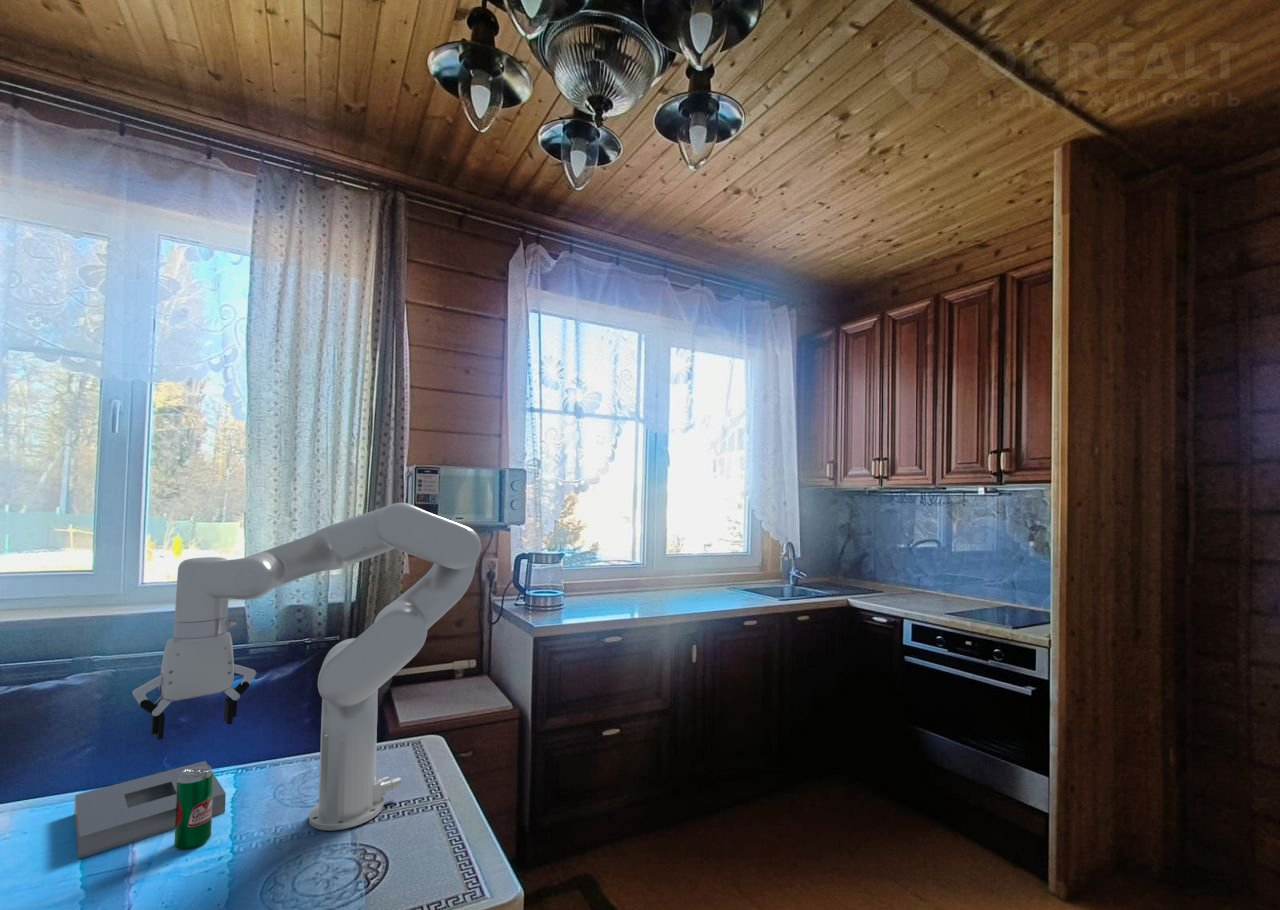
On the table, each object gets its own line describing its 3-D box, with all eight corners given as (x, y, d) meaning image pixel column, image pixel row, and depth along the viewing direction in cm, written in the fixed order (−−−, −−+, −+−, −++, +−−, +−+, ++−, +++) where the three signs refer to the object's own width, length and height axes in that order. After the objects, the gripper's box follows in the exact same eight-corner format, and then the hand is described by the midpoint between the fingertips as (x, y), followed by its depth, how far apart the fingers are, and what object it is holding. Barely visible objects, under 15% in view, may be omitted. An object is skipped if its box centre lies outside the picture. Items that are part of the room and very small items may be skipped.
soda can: (191, 853, 98) (194, 778, 99) (166, 850, 99) (169, 776, 100) (218, 836, 103) (221, 765, 104) (194, 833, 104) (197, 763, 105)
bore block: (204, 777, 125) (205, 760, 125) (224, 812, 111) (225, 793, 111) (74, 814, 111) (75, 795, 111) (78, 859, 97) (79, 837, 97)
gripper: (253, 619, 113) (248, 711, 111) (134, 633, 100) (126, 737, 99) (263, 625, 107) (258, 722, 106) (139, 640, 95) (131, 750, 94)
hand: (194, 729), depth 102 cm, fingers open, 9 cm apart
